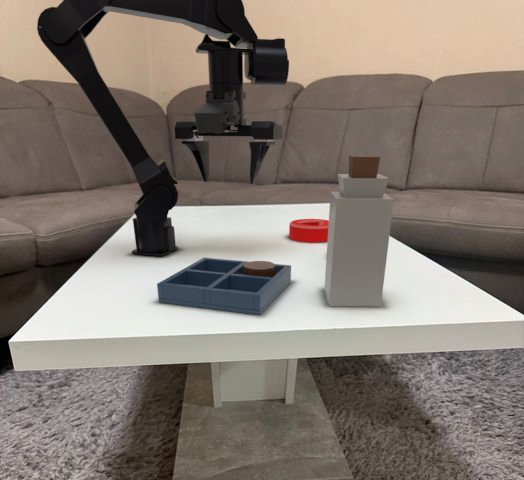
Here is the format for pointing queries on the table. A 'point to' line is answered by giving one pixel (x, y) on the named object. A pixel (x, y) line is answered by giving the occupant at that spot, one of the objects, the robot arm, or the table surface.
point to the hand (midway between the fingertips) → (229, 182)
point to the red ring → (309, 230)
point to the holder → (223, 286)
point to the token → (259, 268)
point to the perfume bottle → (358, 235)
